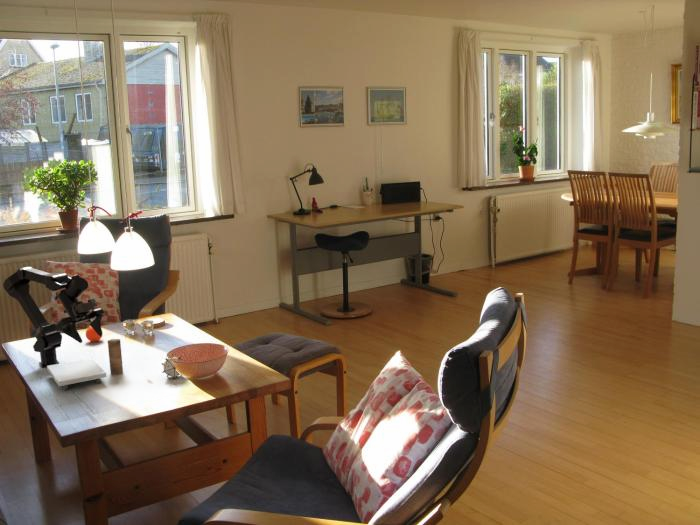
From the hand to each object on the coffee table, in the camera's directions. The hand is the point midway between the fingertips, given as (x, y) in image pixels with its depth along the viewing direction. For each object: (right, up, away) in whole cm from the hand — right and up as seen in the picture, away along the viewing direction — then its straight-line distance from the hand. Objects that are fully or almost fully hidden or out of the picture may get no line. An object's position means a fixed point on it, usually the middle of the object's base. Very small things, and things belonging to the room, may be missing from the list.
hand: (91, 339), depth 263 cm
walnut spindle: (+9, -13, +2) cm, 16 cm away
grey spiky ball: (+32, -14, -5) cm, 35 cm away
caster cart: (-4, -14, -5) cm, 15 cm away
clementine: (-15, -6, +45) cm, 48 cm away
